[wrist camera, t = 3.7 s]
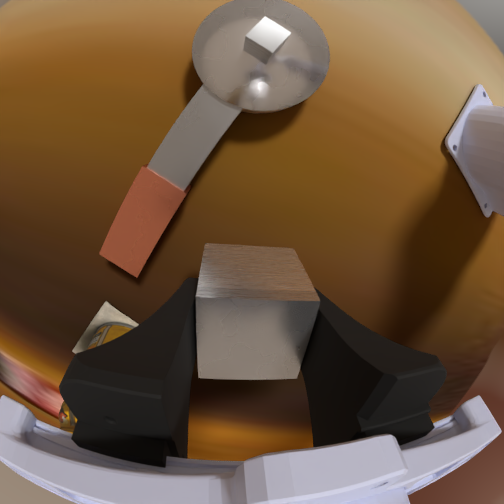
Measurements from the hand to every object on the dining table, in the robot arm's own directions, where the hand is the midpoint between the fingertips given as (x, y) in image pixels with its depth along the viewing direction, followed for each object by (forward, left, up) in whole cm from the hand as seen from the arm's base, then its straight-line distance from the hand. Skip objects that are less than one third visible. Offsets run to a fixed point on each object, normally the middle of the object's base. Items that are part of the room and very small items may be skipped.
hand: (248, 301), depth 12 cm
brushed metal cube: (0, 0, -1) cm, 1 cm away
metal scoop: (+6, -4, -6) cm, 10 cm away
